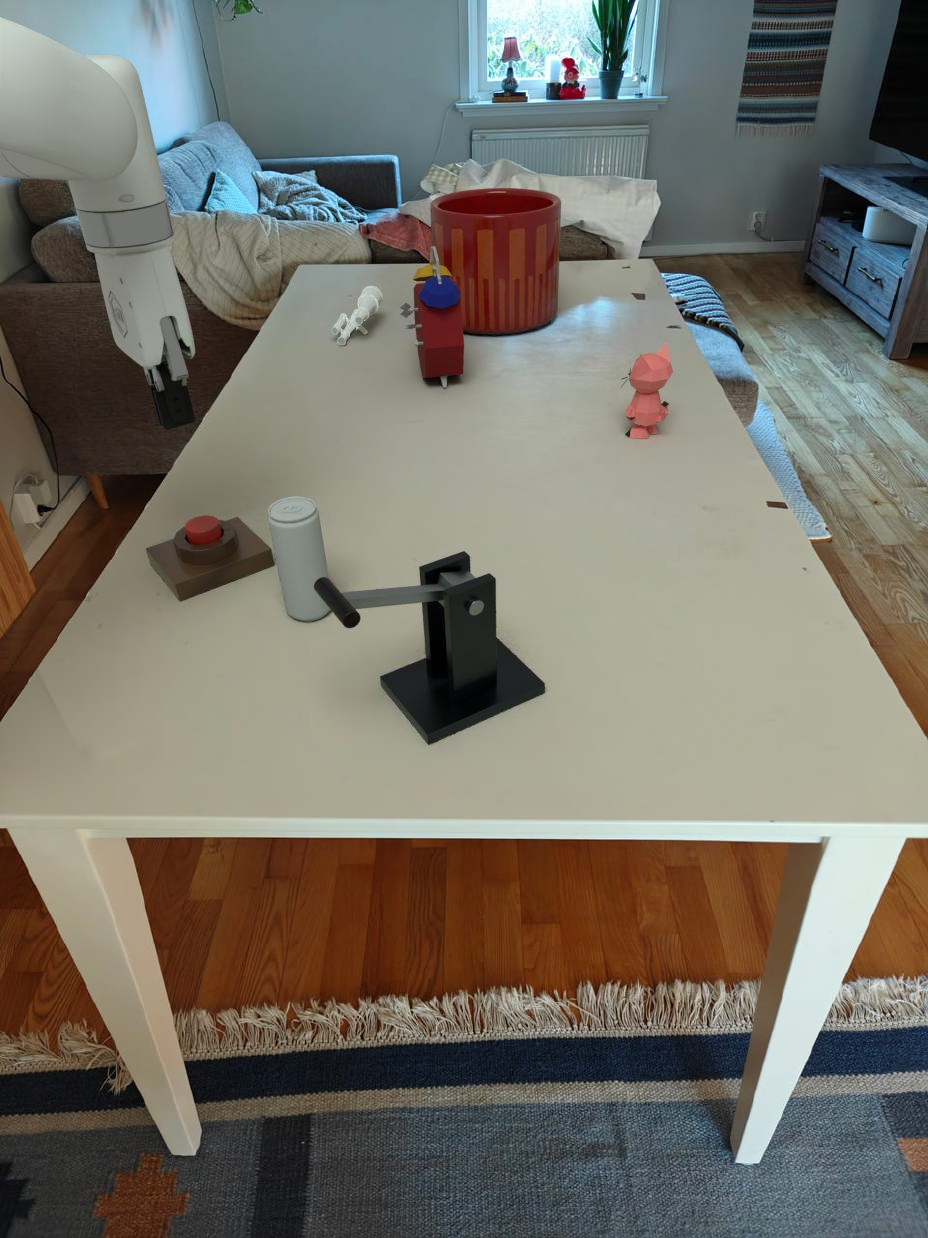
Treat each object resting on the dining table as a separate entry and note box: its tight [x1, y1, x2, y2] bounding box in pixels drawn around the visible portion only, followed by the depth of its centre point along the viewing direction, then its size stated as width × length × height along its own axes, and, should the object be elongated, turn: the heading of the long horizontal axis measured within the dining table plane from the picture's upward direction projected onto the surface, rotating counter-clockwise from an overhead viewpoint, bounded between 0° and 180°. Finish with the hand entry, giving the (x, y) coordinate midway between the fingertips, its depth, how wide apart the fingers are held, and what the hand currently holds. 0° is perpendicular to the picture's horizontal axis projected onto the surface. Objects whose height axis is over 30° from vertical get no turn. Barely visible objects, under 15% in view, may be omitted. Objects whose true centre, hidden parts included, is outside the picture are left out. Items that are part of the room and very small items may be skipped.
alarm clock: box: [399, 246, 465, 389], centre depth 131 cm, size 15×9×20 cm, turn 9°
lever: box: [314, 571, 476, 629], centre depth 68 cm, size 13×6×2 cm, turn 121°
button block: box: [145, 516, 275, 602], centre depth 94 cm, size 11×9×4 cm
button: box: [184, 514, 222, 545], centre depth 92 cm, size 4×4×2 cm
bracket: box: [379, 550, 546, 746], centre depth 73 cm, size 12×9×13 cm
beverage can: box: [267, 495, 331, 623], centre depth 84 cm, size 5×5×12 cm
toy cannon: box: [331, 285, 384, 346], centre depth 154 cm, size 8×14×5 cm
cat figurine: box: [620, 341, 674, 440], centre depth 115 cm, size 7×7×12 cm
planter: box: [429, 187, 562, 336], centre depth 154 cm, size 23×23×20 cm
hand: (177, 423), depth 85 cm, fingers closed
